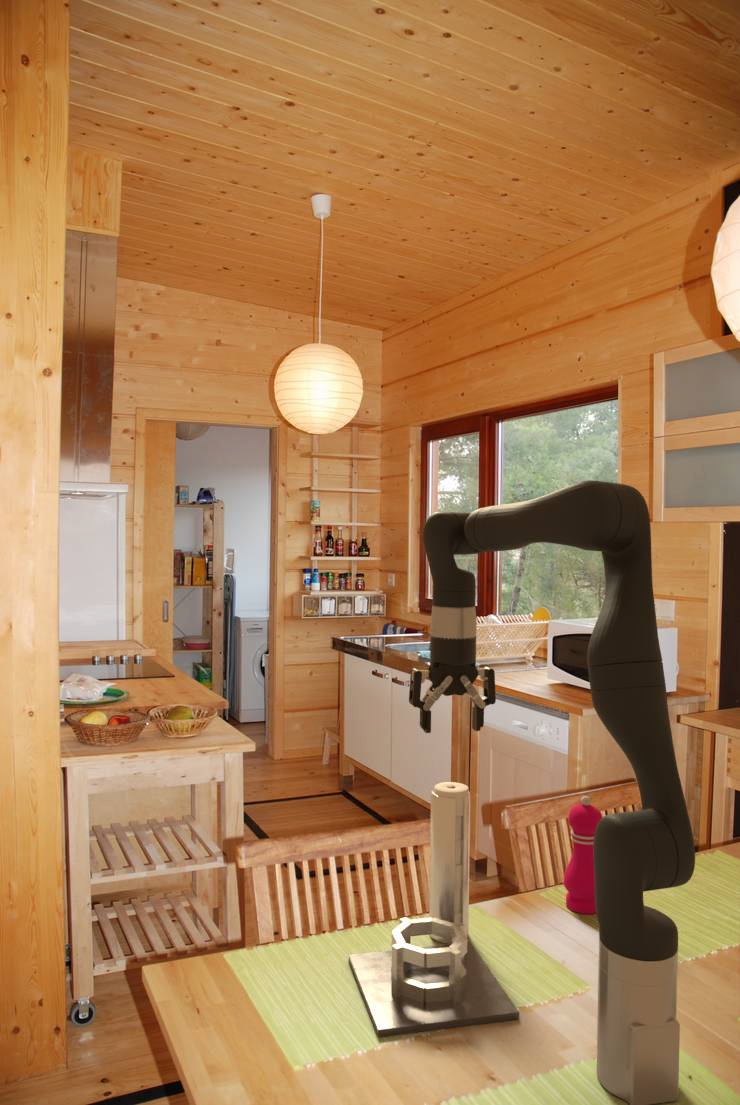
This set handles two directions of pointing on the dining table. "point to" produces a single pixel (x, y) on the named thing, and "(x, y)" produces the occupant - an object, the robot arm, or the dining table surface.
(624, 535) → the robot arm
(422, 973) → the collar stand
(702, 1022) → the dining table surface
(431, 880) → the cream peg
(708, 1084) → the dining table surface
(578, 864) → the pepper mill
